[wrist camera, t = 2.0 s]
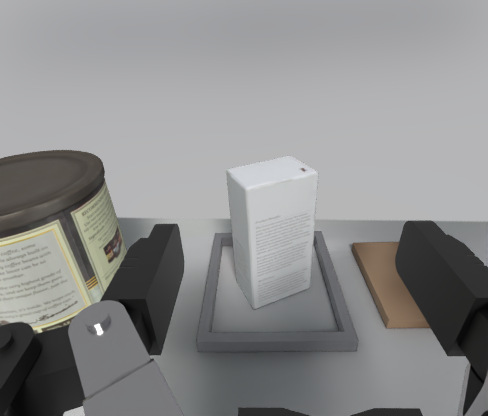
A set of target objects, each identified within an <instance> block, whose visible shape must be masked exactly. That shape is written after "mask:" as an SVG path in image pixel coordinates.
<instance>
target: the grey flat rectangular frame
mask: <svg viewBox="0 0 488 416" xmlns="http://www.w3.org/2000/svg"><path fill="white" fill-rule="evenodd" d="M313 244H315V248H316V251H317V255H318V258H319V262H320V265H321V268H322V272H323V275H324V279H325V282H326V286H327V289H328V293H329V296H330V300H331V303H332V307H333V310H334V314H335V317H336V320H337V324H338V327H339V331H340V332H232V333H211V328H212V321H213V313H214V306H215V298H216V291H217V283H218V276H219V269H220V261H221V254H222V246H233V238H232V233H215V238H214V244H213V249H212V255H211V261H210V266H209V272H208V278H207V283H206V289H205V295H204V300H203V306H202V312H201V317H200V323H199V329H198V334H197V340H196V344H197V349H198V352H269V351H356V349H357V345H358V338H357V335H356V332H355V329H354V326H353V323H352V320H351V317H350V315H349V312H348V309H347V306H346V303H345V300H344V297H343V294H342V291H341V288H340V285H339V282H338V279H337V276H336V273H335V270H334V267H333V264H332V262H331V259H330V256H329V253H328V250H327V247H326V244H325V241H324V238H323V235H322V232H321V231H314V240H313Z"/></svg>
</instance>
